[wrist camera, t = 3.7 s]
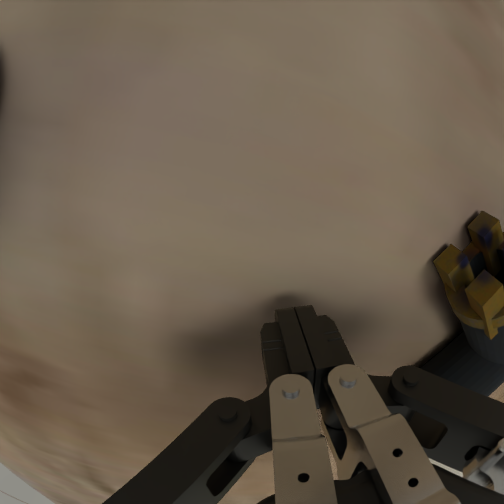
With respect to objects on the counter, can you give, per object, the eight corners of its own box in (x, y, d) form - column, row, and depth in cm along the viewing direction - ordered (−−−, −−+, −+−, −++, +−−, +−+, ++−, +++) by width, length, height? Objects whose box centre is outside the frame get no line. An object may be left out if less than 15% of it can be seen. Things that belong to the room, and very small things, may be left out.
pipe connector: (386, 403, 10) (587, 176, 6) (345, 324, 15) (520, 150, 11) (441, 444, 14) (580, 301, 11) (413, 393, 19) (540, 268, 16)
